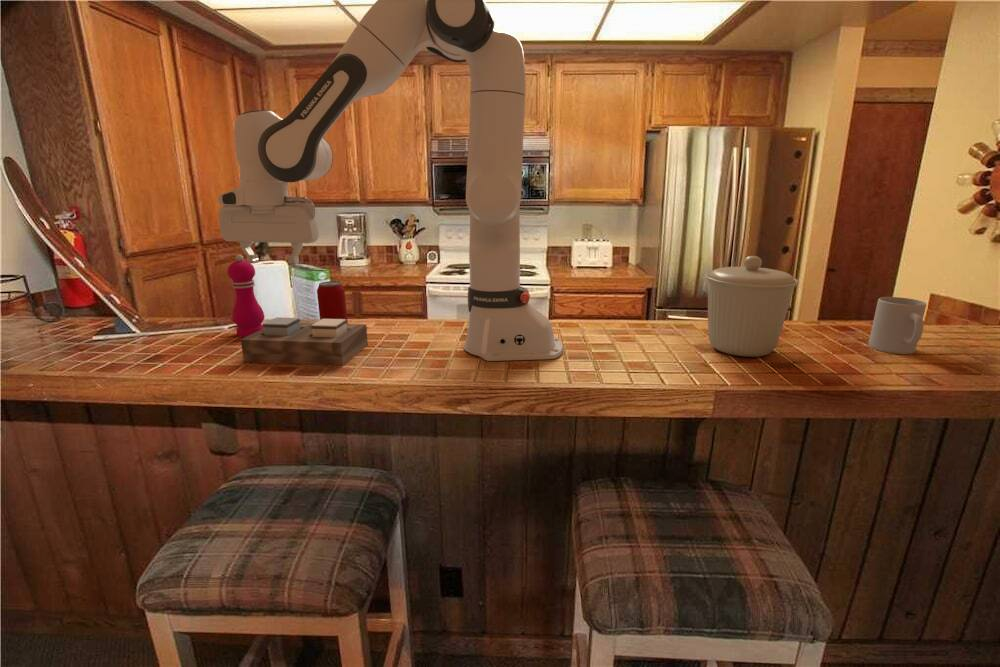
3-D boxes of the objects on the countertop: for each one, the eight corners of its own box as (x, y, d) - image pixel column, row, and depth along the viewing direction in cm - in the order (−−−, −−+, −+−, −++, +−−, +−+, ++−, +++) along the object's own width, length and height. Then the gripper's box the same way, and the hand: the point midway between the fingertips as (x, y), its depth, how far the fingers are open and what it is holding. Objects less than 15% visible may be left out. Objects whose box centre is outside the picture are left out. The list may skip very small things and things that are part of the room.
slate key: (302, 339, 114) (299, 317, 113) (289, 346, 109) (286, 324, 108) (279, 338, 115) (276, 317, 113) (265, 345, 110) (262, 323, 108)
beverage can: (352, 325, 134) (347, 280, 131) (342, 332, 128) (337, 285, 124) (327, 324, 135) (323, 280, 131) (316, 331, 128) (311, 285, 125)
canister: (681, 341, 119) (691, 252, 113) (748, 336, 123) (761, 249, 117) (730, 367, 102) (744, 264, 96) (806, 360, 106) (824, 260, 100)
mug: (860, 342, 118) (869, 296, 115) (899, 343, 117) (910, 297, 113) (891, 359, 106) (902, 308, 103) (935, 360, 105) (948, 309, 102)
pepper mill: (261, 328, 132) (249, 251, 126) (270, 333, 127) (259, 254, 121) (231, 333, 127) (218, 254, 121) (240, 339, 122) (226, 257, 116)
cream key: (348, 340, 113) (346, 319, 111) (338, 348, 108) (335, 325, 106) (325, 339, 114) (322, 318, 112) (313, 347, 108) (311, 325, 107)
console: (367, 345, 117) (366, 324, 116) (343, 365, 104) (340, 342, 103) (279, 342, 120) (276, 322, 118) (244, 362, 106) (240, 339, 105)
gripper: (320, 196, 105) (326, 262, 109) (229, 195, 107) (238, 260, 111) (305, 197, 99) (312, 267, 103) (209, 196, 101) (220, 264, 105)
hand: (273, 263), depth 107 cm, fingers open, 8 cm apart
